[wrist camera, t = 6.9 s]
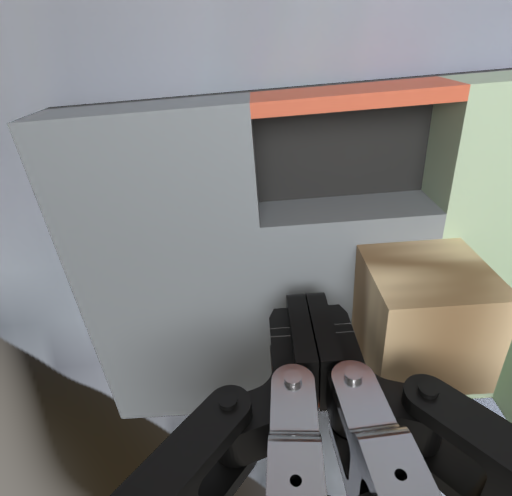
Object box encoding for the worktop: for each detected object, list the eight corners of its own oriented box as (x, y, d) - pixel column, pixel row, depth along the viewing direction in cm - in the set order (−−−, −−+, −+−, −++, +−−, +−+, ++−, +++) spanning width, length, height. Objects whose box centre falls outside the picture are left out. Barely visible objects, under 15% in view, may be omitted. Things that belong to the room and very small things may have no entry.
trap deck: (136, 374, 23) (102, 477, 17) (49, 107, 15) (-58, 148, 10) (481, 352, 22) (553, 453, 17) (565, 63, 15) (740, 81, 9)
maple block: (351, 323, 17) (377, 399, 13) (356, 244, 15) (388, 310, 11) (443, 318, 17) (493, 393, 13) (460, 237, 15) (524, 301, 11)
